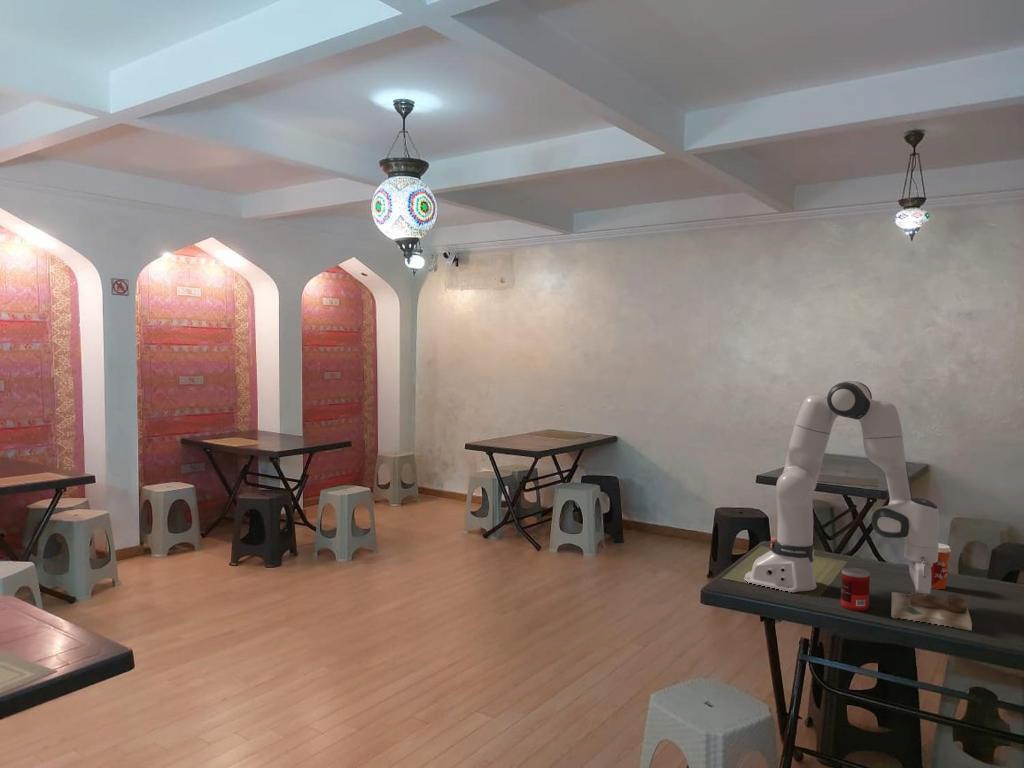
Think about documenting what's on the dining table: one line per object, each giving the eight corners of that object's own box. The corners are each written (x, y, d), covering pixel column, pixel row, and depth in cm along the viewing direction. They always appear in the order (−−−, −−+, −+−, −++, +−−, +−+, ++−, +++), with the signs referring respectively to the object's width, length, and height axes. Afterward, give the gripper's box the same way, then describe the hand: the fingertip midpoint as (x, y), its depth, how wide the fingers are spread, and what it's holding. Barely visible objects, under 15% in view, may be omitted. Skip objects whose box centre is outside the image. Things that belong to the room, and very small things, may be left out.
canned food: (872, 607, 224) (873, 571, 223) (862, 613, 218) (863, 577, 218) (846, 600, 229) (848, 565, 229) (836, 606, 224) (837, 571, 223)
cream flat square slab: (891, 617, 215) (891, 610, 215) (891, 598, 232) (891, 591, 232) (971, 630, 206) (972, 623, 206) (965, 609, 223) (966, 602, 223)
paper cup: (942, 592, 238) (944, 549, 237) (918, 585, 244) (920, 544, 243) (953, 587, 243) (955, 546, 242) (929, 581, 249) (931, 540, 248)
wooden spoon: (965, 607, 217) (965, 595, 217) (968, 613, 212) (969, 601, 212) (909, 600, 222) (910, 589, 222) (912, 606, 218) (912, 594, 218)
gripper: (938, 564, 210) (935, 612, 210) (928, 546, 228) (926, 590, 229) (913, 561, 212) (910, 608, 213) (905, 543, 231) (903, 587, 232)
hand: (918, 598), depth 221 cm, fingers closed
